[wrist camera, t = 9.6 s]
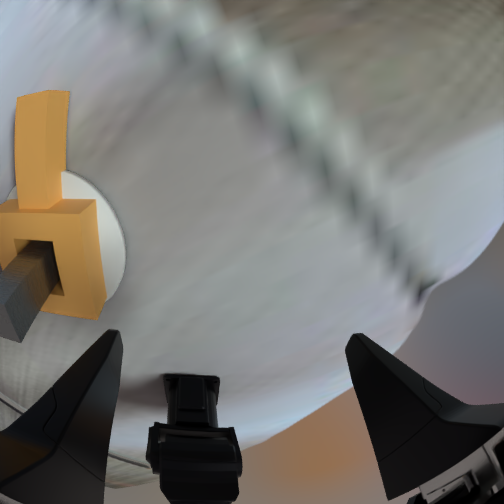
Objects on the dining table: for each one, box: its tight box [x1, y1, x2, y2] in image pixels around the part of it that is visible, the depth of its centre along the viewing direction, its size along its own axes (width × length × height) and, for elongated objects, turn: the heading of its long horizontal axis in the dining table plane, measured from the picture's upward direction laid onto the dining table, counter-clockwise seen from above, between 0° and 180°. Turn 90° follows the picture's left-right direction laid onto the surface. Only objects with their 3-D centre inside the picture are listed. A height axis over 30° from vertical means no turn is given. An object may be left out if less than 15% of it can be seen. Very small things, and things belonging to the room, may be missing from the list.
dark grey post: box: [0, 240, 60, 343], centre depth 14 cm, size 3×2×9 cm
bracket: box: [0, 90, 126, 320], centre depth 16 cm, size 19×13×4 cm
